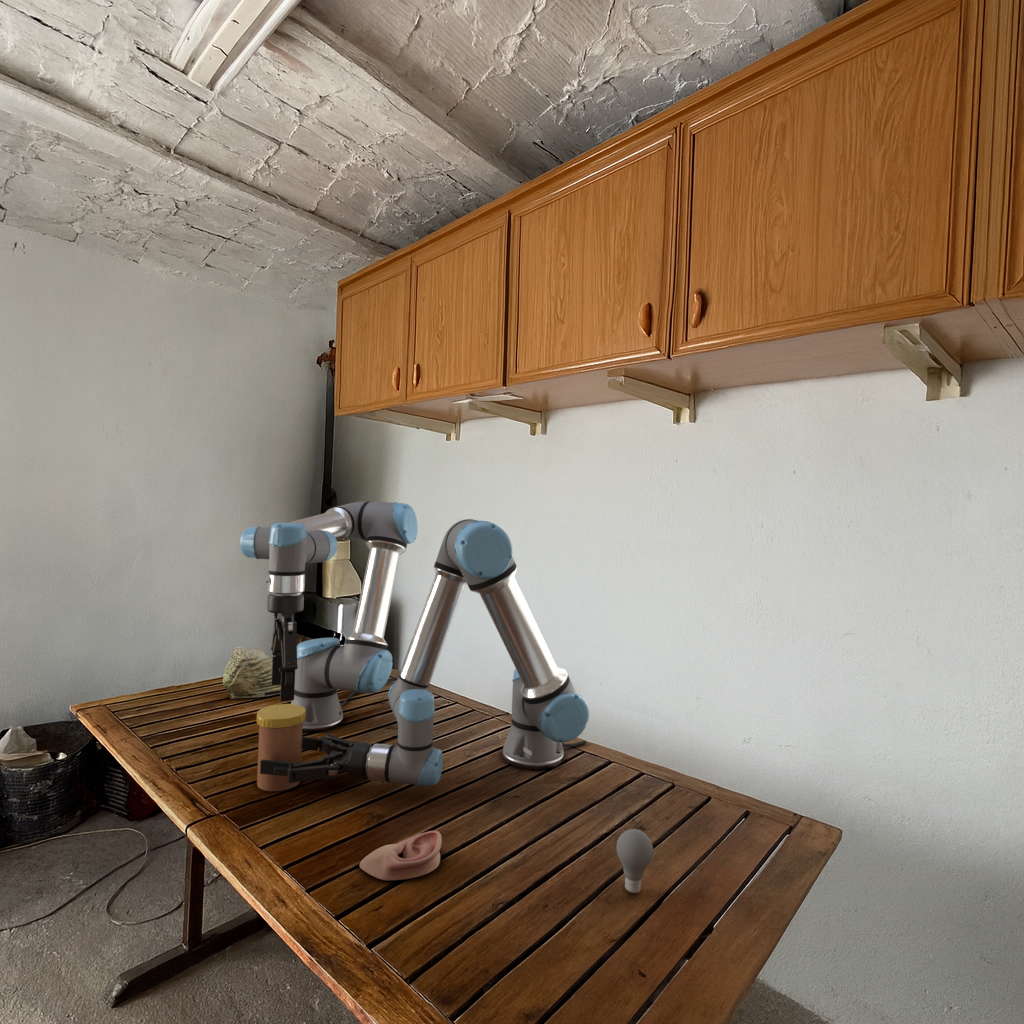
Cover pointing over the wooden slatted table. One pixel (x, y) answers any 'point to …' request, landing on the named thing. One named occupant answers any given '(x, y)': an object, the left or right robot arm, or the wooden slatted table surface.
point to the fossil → (249, 674)
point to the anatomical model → (405, 858)
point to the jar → (278, 754)
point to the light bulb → (634, 857)
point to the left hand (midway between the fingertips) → (282, 692)
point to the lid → (281, 715)
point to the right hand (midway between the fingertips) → (276, 753)
